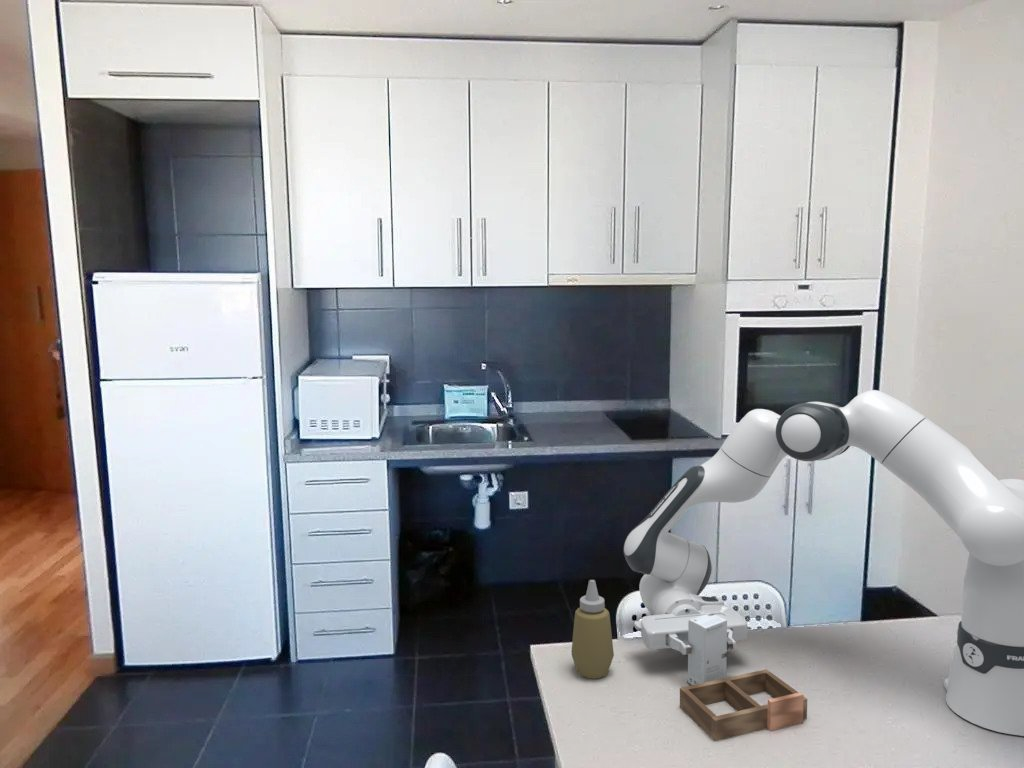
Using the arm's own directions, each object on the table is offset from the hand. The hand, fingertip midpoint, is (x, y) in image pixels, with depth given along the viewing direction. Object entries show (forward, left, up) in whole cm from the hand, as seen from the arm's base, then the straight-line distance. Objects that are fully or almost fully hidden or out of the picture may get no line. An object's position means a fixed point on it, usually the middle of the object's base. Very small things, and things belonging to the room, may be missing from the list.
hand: (709, 648), depth 133 cm
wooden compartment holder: (0, +10, -7) cm, 12 cm away
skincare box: (0, -1, -7) cm, 7 cm away
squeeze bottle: (+18, -12, -7) cm, 23 cm away
